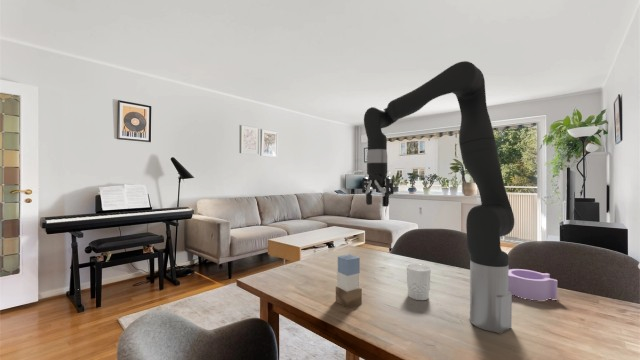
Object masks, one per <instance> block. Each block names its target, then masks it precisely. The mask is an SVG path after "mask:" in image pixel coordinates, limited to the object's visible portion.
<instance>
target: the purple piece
mask: <svg viewBox="0 0 640 360" xmlns="http://www.w3.org/2000/svg"><path fill="white" fill-rule="evenodd" d="M550 276H551V273H547V272H545V273H542V272H538V271H536V270H530V269H521V268H512V269H511V268H509V269H508V292H511V293H512V295H515V296H519V297H522V298H526V299H533V300H546V299H549V298H551V299H557V300H558V280H557V279H556V278H555V279H554V278H551V277H550ZM515 296H514V297H515ZM522 298H521V299H522ZM526 299H525V300H526Z"/></svg>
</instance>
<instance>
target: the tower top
mask: <svg viewBox="0 0 640 360" xmlns="http://www.w3.org/2000/svg"><path fill="white" fill-rule="evenodd" d="M336 274H337V275H336V277H337V279H336V280H337V281H336V282H337V283H336V286H337V287H339V288H341V289H343V290H344V291H346V292H348V291H352V290H355V289H359V287H360V273H358V274H354V275H349V276H346V275H344V274H342V273H340V272H338V271H337V272H336Z"/></svg>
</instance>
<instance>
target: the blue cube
mask: <svg viewBox="0 0 640 360" xmlns="http://www.w3.org/2000/svg"><path fill="white" fill-rule="evenodd" d="M360 263H361V262H360V256H356V255H353V254H344V255H338V256H337V272H340V273H342V274H344V275H346V276H349V275H354V274H358V273H359V274H360V268H361V267H360Z"/></svg>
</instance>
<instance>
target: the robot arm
mask: <svg viewBox="0 0 640 360" xmlns="http://www.w3.org/2000/svg"><path fill="white" fill-rule="evenodd" d="M485 82H486V81H485V77H484V73H483V71H482V70H481V69H480V68H478V67H477V66H476V65H475V64H474V63H472V62H471V61H468V60H460V61H458V62H456V63H453V64H452V65H450V66H448V67H447V68H446V69H444V70H443V71H441V72H440V73H438V74H437V75H435V76H434V77H433V78H431V79H429V80H428V81H427V82H425V83H423V84H422V85H420V86H418V87H417V88H415V89H413V90H411V91H410V92H407V93H405V94H403V95H400V96H399V97H397V98H395V99H392V100H391V101H389V103H388V104H387V106H386V107H385V108H383V109H382V108H379V107H376V106H373V107H369V108H367V109H366V111H364V112H365V113H364V115H363V127H364V130H365V134H366V137H367V153H366V174H367V176H368V177H362V181H361V182H362V183H361V186H362V188H361V193H362V194H365V202H366V205H367V206H369V205H373V193H374V191H375V190H378V191H379V192H380V193H381V195H382V196H381V197H382V204H381V206H382V207H383V208H384V207H385V208H387V207H389V204H390V196H391V195H394V192H395V191H394V178H393V177H386V176H387V175H388V150H387V149H388V148H387V146H388V140H387V135H386V134H385V133H383V132H382V129H384V128H387V127H389V126H391V125H393V124H395V123H396V122H397V121H399V120H401V119H402V118H406V117H408V116H410V115H412V114H416V112H419V111H420V110H421V109H422V108H423V107H425V106H426V105H427V104H428V103H430V102H431V101H433V100H434V99H437V98H439V97H441V96H444V95H445V96H446V95H449V94H453V95H455V97H456V99H457V102H458V106H459V110H460V118H461V119H460V127H459V135H458V144H459V149H460V150H459V151H460V155H461V160H462V162H463V163H462V164H463V165H464V167H465V170H466V171H467V172H468V174H469V176H470V177H471V178H472V180H473V181H474V183H475V184H476V188H477V191H478V193H479V198H480V204H478V205H475V206H473V207H472V208H471V209H469V211H468V213H467V216H466V225H465V229H466V246H467V251H468V253H469V256H470V260H469V261H470V262H469V263H470V265H469V266H470V267H469V270H470V271H469V272H470V273H469V276H470V277H469V321H470V323H471V324H472V325H474V326H475V327H477V328H479V329H481V330H485V331H487V332H495V333H497V334H502V333H504V332H506V331H508V330H510V329H511V328H512V324H513V323H512V321H513V320H512V316H513V315H512V313H513V312H512V311H513V309H512V307H513V305H512V304H513V301H512V300H513V298H512V297H513V296H512V293H511V292H508V270H509V268H510V267H509V263H510V262H509V261H510V260H509V258H510V257H509V255H508V253H507V252H505V251H504V250H503V249H502V248H501V237H505V236H507V235H509V234H510V233H511V232H513V229H514V227H515V216H514V215H515V214H514V213H513V209H512V206H511V202H510V200H509V196H508V194H507V193H508V192H507V190H506V187H505V182H504V180H503V179H504V178H503V174H502V169H501V164H500V160H499V153H498V148H497V143H496V141H497V140H496V138H495V133H494V129H493V125H492V122H491V118H490V114H489V111H488V106H487V97H486V94H487V93H486V83H485ZM509 328H510V329H509Z"/></svg>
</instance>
